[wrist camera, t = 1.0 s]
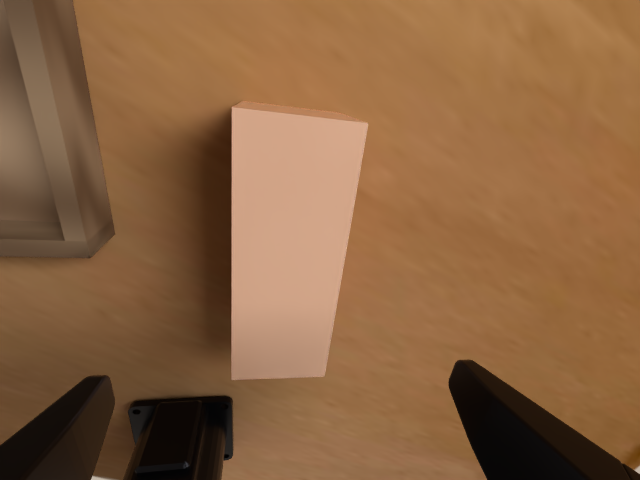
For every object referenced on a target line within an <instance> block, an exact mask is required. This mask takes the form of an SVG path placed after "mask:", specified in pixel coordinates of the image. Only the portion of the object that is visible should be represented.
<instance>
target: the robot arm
mask: <svg viewBox="0 0 640 480" xmlns="http://www.w3.org/2000/svg"><path fill="white" fill-rule="evenodd" d="M449 389H450V392H451V395H452V397H453V400H454V403H455V405H456V408H457V411H458V413H459V416H460V419H461V421H462V424H463V427H464V429H465V432H466V434H467V437H468V439H469V442H470V444H471V447H472V449H473V451H474V453H475V455H476V457H477V459H478V462H479V464H480V466H481V468H482V470H483V472H484V474H485V476H486V478H487V480H640V474H638V473H637V472H636V471H634V470H633V469H631V468H630V467H628V466H627V465H625V464H622V463H621V462H620V461H619V460H618V459H617V458H615V457H614V456H612V455H611V454H609V453H608V452H606V451H605V450H603V449H602V448H600V447H599V446H597V445H596V444H595V443H593V442H592V441H590V440H589V439H587V438H586V437H584V436H583V435H581V434H580V433H578V432H577V431H575V430H574V429H573V428H571V427H570V426H568V425H567V424H565V423H564V422H562V421H561V420H559V419H558V418H556V417H555V416H553V415H552V414H551V413H549V412H548V411H546V410H545V409H543V408H542V407H540V406H539V405H537V404H536V403H534V402H533V401H532V400H530V399H529V398H527V397H526V396H524V395H523V394H521V393H520V392H518V391H517V390H515V389H514V388H512V387H511V386H510V385H508V384H507V383H505V382H504V381H502V380H501V379H499V378H498V377H496V376H495V375H493V374H492V373H490V372H489V371H488V370H486V369H485V368H483V367H482V366H480V365H479V364H477V363H476V362H474V361H472V360H458V361H457V362H456V363H455V365H454V368H453V370H452V373H451V375H450V378H449ZM114 405H115V398H114V394H113V390H112V385H111V381H110V378H109V377H108V376H107V375H97V376H88V377H86V378H85V379H83V380H82V381H81V382H79V383H78V384H77V385H76V386H74V387H73V388H72V389H71V390H69V391H68V392H67V393H66V394H64V395H63V396H62V397H61V398H59V399H58V400H57V401H56V402H54V403H53V404H52V405H51V406H49V407H48V408H47V409H45V410H44V411H43V412H42V413H40V414H39V415H38V416H37V417H35V418H34V419H33V420H32V421H30V422H29V423H28V424H27V425H25V426H24V427H23V428H22V429H20V430H19V431H18V432H16V433H15V434H14V435H13V436H11V437H10V438H9V439H8V440H6V441H5V442H4V443H3V444H1V445H0V480H91V478H92V475H93V472H94V469H95V466H96V463H97V460H98V457H99V453H100V450H101V447H102V444H103V441H104V438H105V435H106V432H107V429H108V425H109V422H110V419H111V416H112V413H113V410H114ZM128 414H129V418H130V423H131V427H132V432H133V437H134V441H135V448H134V451H133V454H132V457H131V459H130V462H129V465H128V468H127V470H126V473H125V476H124V479H123V480H221V477H222V469H223V460H229V459H231V458H232V456H233V401H232V399H231V398H230V397H226V396H223V397H205V398H187V399H169V400H151V401H136V402H133V403H132V404H131V406H130V408H129V410H128Z"/></svg>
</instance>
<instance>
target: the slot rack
mask: <svg viewBox="0 0 640 480" xmlns="http://www.w3.org/2000/svg"><path fill="white" fill-rule="evenodd" d="M114 234H115V232H114V226H113V221H112V215H111V210H110V204H109V199H108V193H107V188H106V182H105V177H104V171H103V166H102V160H101V155H100V149H99V144H98V138H97V133H96V127H95V122H94V116H93V111H92V105H91V100H90V94H89V89H88V83H87V78H86V72H85V67H84V61H83V56H82V50H81V45H80V39H79V34H78V28H77V23H76V17H75V12H74V6H73V1H72V0H0V256H9V257H59V258H91V257H92V256H93V255H94V254H95V253H96V252H97V251H98V250H99V249H100V248H101V247H102V246H103V245H104V244H105V243H106V242H107V241H108V240H109V239H110V238H111V237H112V236H113V235H114Z"/></svg>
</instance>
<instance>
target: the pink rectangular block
mask: <svg viewBox="0 0 640 480" xmlns="http://www.w3.org/2000/svg"><path fill="white" fill-rule="evenodd" d="M367 128H368V123H366V122H364V121H361V120H358V119H356V118H353V117H350V116H347V115H345V114H342V113H338V112H330V111H322V110H313V109H305V108H297V107H289V106H280V105H272V104H264V103H256V102H248V101H242V102H240V103H238V104H236V105H235V106H233V107H232V333H231V380H245V379H273V378H300V377H325V371H326V365H327V359H328V353H329V348H330V342H331V336H332V330H333V325H334V319H335V313H336V307H337V302H338V296H339V290H340V284H341V278H342V273H343V267H344V261H345V255H346V250H347V244H348V238H349V232H350V226H351V221H352V215H353V209H354V203H355V198H356V192H357V186H358V180H359V175H360V169H361V163H362V157H363V151H364V146H365V140H366V134H367Z"/></svg>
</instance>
